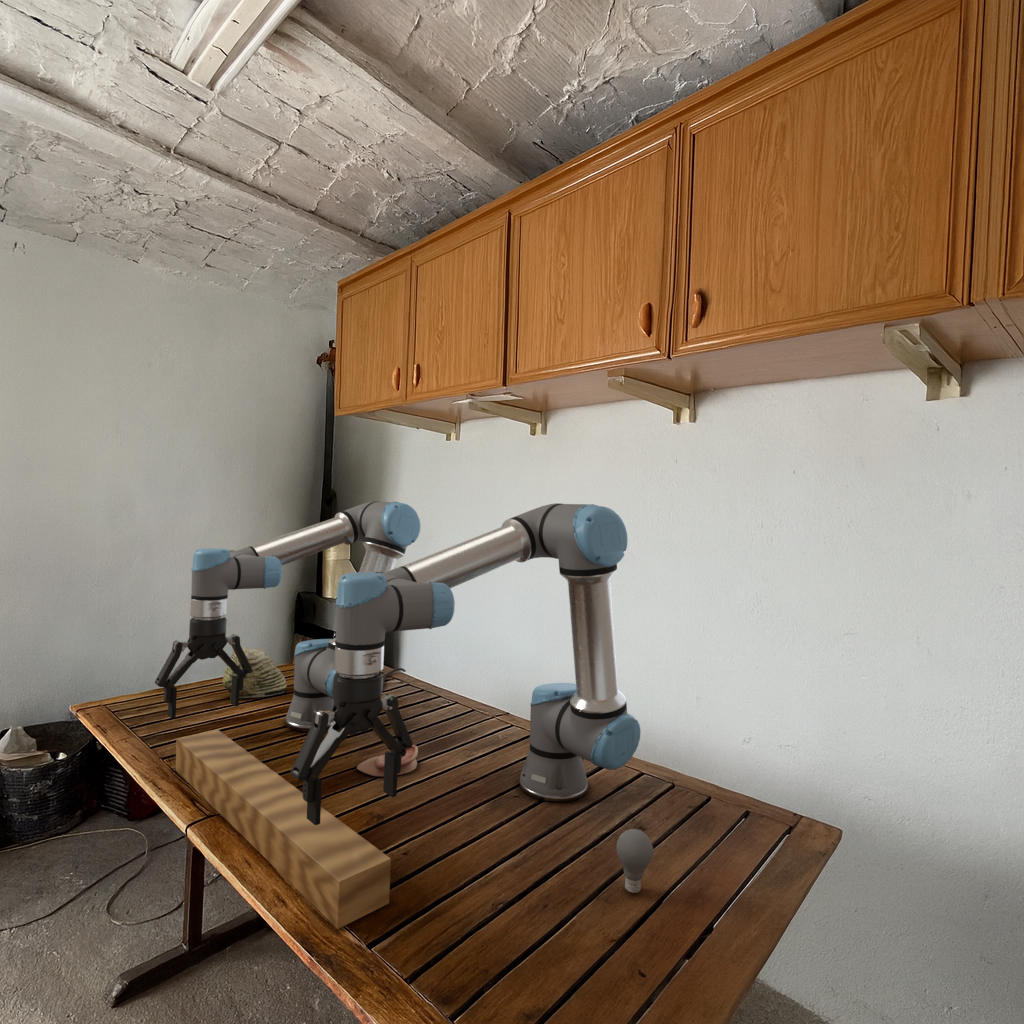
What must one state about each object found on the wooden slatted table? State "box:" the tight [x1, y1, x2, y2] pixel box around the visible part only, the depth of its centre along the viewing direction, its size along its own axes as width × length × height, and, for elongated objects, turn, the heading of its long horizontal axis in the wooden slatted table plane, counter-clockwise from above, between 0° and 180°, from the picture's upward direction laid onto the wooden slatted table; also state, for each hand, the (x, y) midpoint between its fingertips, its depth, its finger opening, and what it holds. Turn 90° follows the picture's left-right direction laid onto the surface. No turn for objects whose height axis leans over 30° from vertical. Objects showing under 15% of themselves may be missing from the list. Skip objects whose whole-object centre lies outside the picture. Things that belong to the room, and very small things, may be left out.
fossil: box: [222, 646, 288, 699], centre depth 198 cm, size 9×18×15 cm, turn 132°
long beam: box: [175, 729, 392, 930], centre depth 122 cm, size 71×9×7 cm, turn 45°
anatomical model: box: [356, 744, 419, 777], centre depth 149 cm, size 13×4×12 cm
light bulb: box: [615, 828, 654, 894], centre depth 106 cm, size 6×6×10 cm
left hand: (204, 710), depth 143 cm, fingers open, 13 cm apart
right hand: (353, 807), depth 99 cm, fingers open, 13 cm apart
